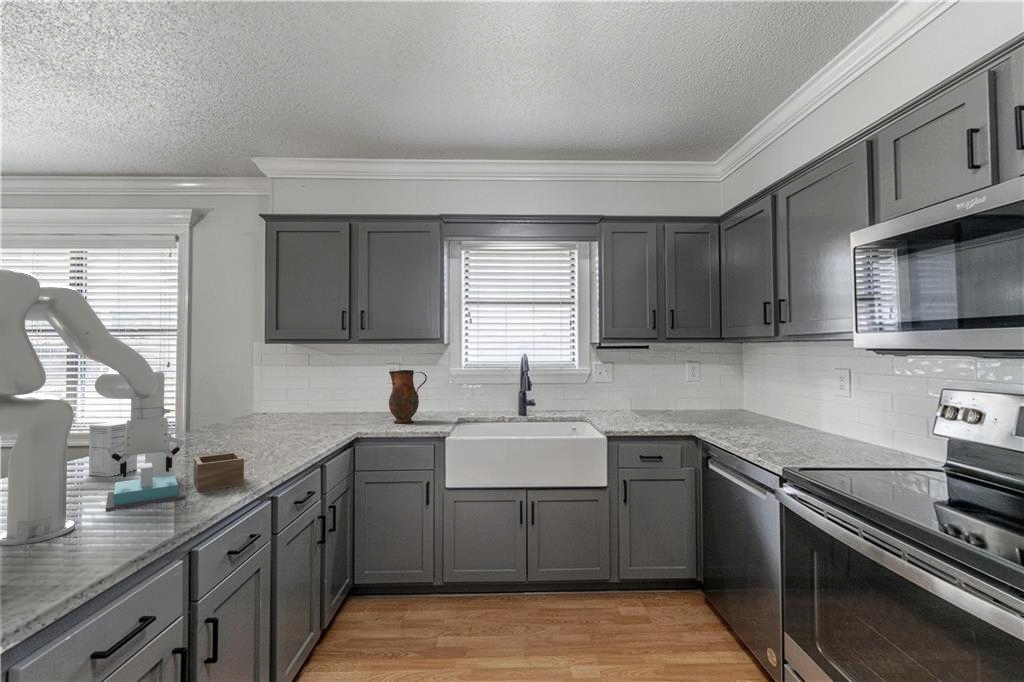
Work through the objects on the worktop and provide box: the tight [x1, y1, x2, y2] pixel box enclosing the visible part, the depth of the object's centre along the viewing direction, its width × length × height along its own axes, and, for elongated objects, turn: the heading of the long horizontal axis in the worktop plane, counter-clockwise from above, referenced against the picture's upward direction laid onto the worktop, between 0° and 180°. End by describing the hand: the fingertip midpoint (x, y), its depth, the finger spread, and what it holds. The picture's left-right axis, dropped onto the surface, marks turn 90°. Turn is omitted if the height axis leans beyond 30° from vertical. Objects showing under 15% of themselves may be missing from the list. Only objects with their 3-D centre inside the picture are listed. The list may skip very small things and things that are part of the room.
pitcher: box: [388, 369, 428, 425], centre depth 271 cm, size 17×21×30 cm
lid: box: [113, 462, 178, 505], centre depth 135 cm, size 14×14×8 cm
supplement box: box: [88, 420, 138, 478], centre depth 160 cm, size 10×9×17 cm
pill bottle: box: [144, 431, 177, 477], centre depth 152 cm, size 8×8×15 cm
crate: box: [192, 451, 245, 492], centre depth 149 cm, size 12×12×8 cm
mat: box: [105, 482, 186, 512], centre depth 135 cm, size 17×17×1 cm
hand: (146, 473), depth 135 cm, fingers open, 9 cm apart
